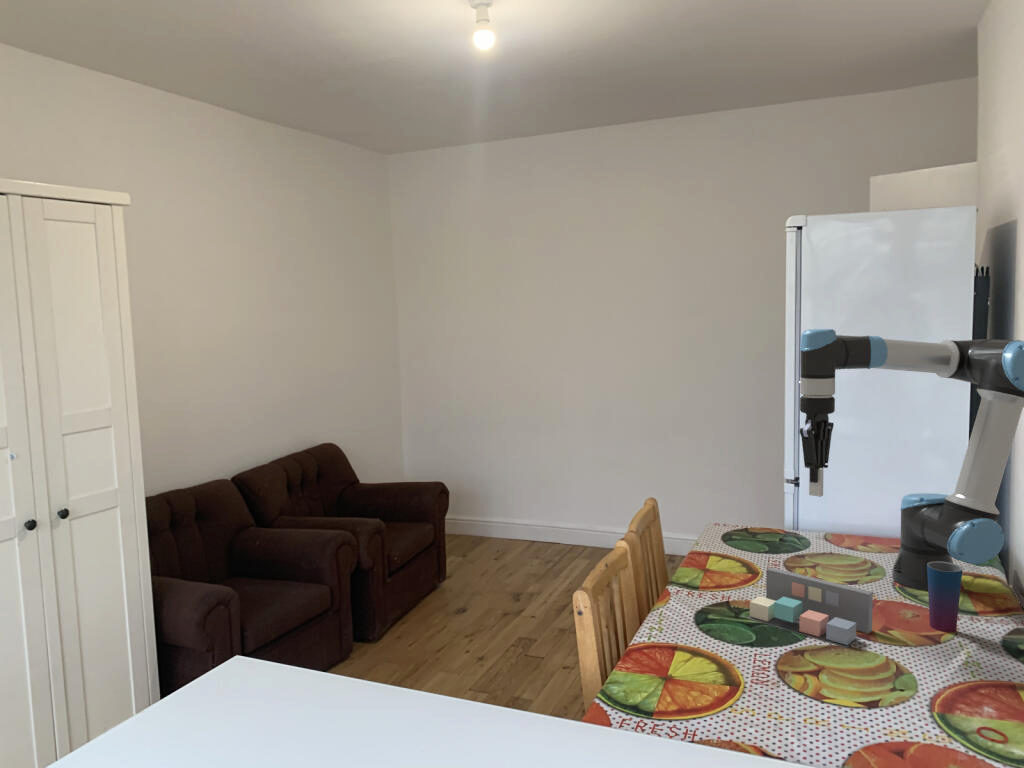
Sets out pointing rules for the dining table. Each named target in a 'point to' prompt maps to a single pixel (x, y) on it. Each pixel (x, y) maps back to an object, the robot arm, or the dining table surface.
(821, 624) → the coral key
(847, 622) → the slate key
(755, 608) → the sand key
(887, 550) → the dining table surface
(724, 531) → the dining table surface
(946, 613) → the cup
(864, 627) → the keypad
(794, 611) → the teal key
